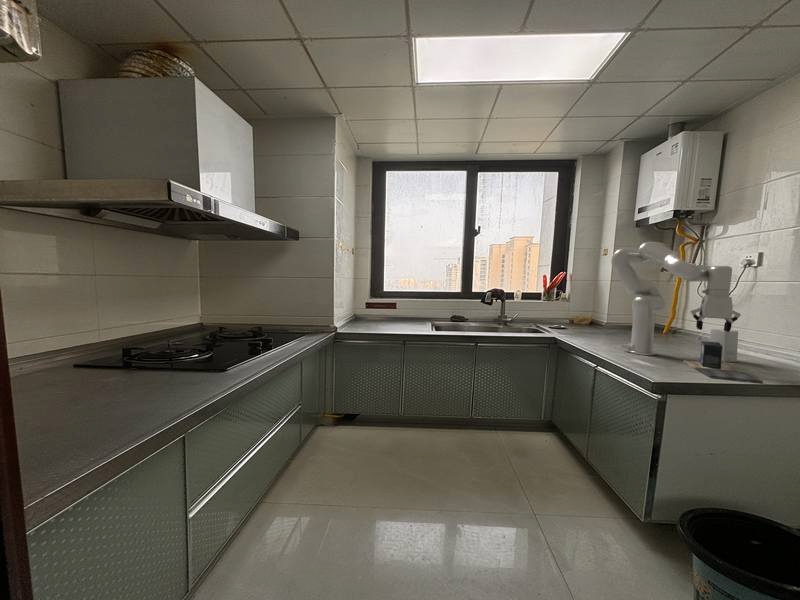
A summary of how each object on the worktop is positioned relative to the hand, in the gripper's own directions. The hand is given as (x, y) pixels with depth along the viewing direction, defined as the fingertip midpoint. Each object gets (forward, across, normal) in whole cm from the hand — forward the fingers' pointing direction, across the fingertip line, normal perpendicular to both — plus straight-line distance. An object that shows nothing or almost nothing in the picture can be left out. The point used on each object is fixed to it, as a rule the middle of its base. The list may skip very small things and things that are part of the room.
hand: (712, 330), depth 146 cm
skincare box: (+18, +14, +21) cm, 31 cm away
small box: (+17, 0, 0) cm, 17 cm away
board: (+17, +1, -7) cm, 19 cm away
